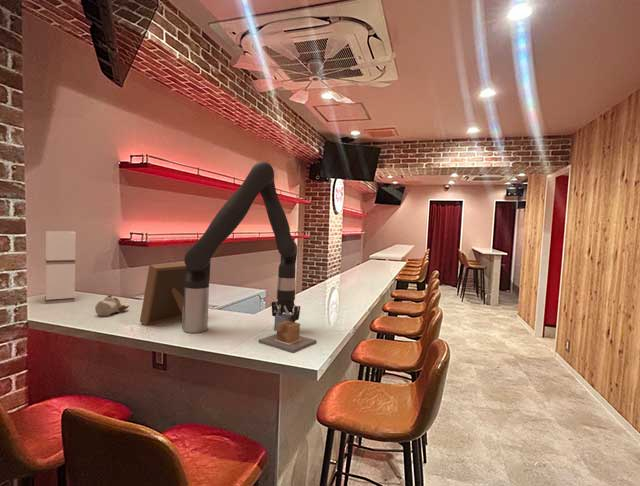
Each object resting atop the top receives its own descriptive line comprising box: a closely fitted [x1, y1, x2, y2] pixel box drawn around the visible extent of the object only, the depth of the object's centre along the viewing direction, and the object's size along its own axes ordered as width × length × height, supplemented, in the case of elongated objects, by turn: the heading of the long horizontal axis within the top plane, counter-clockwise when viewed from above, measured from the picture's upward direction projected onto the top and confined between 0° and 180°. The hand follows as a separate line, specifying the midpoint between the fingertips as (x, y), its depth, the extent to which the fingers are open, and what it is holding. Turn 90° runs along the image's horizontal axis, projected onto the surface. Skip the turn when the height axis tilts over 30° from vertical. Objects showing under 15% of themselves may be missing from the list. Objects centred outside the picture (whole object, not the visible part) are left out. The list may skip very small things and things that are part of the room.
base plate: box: [258, 333, 318, 354], centre depth 127 cm, size 16×14×1 cm
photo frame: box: [139, 261, 186, 327], centre depth 147 cm, size 15×22×25 cm
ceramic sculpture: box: [95, 294, 130, 317], centre depth 156 cm, size 11×9×15 cm
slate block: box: [273, 313, 296, 332], centre depth 143 cm, size 6×6×6 cm
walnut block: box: [275, 321, 301, 343], centre depth 127 cm, size 6×6×6 cm
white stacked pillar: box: [44, 230, 77, 305], centre depth 174 cm, size 11×11×35 cm
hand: (284, 328), depth 143 cm, fingers closed on slate block, 6 cm apart
